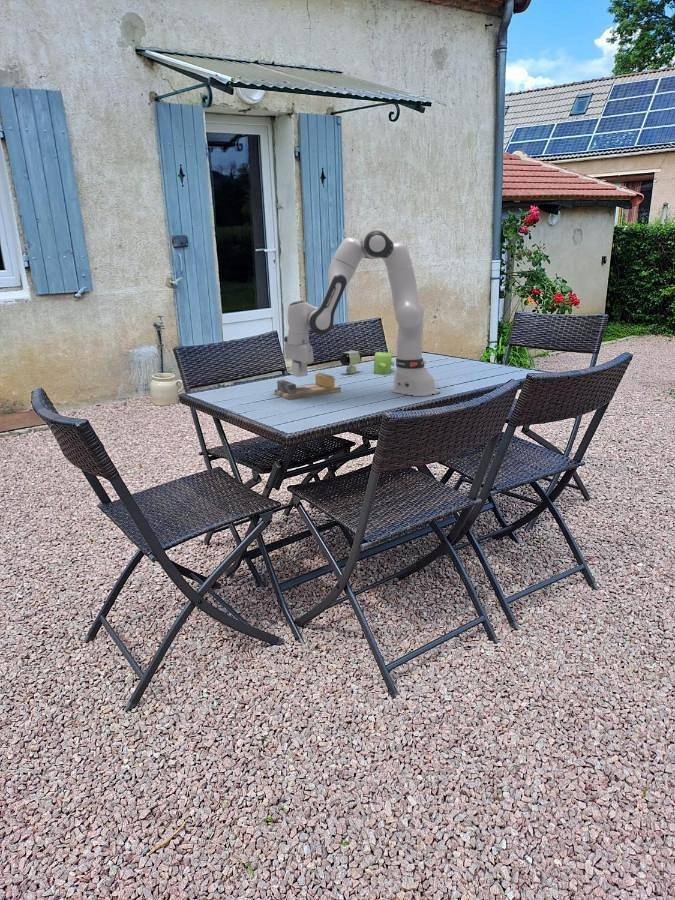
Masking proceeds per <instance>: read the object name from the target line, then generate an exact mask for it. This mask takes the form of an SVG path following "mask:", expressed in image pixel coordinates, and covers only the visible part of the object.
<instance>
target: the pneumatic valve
mask: <svg viewBox="0 0 675 900" xmlns="http://www.w3.org/2000/svg"><path fill="white" fill-rule="evenodd" d="M362 358H363V357H362V353H361V351H360V350H353V349H349V351H344V352H343V351H342V352H341V355H340V356H339V361H340V363H341V366H346V367H345V368H346V369H345V372H346V374H349V375H351V374H352V373H353V374H356V373H357V372H356V371H357V366H355V365H359V364H361V362H362ZM353 374H352V375H353Z"/></svg>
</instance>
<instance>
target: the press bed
mask: <svg viewBox="0 0 675 900" xmlns="http://www.w3.org/2000/svg"><path fill="white" fill-rule="evenodd" d="M276 382H277V383H276V384H277V388H276V389H274V394H275V395H276V394H277V395H276V396H279V397H281V396H282V398H283V399H287V400H289V401H290V400H296V398H297V399H303V398H308V397H309V396H310V397H315V396H316V397H317V396H321V395H328V394H334V393H341V392H342V389H341V386H338V385H335V384H334V387H324V386H321V385H318V384H316V383H310V384H303V385H298V386H297V384H296V383H292V382H290V381H287V380H285V379H282V380H277V381H276ZM302 397H303V398H302Z"/></svg>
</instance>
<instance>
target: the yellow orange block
mask: <svg viewBox="0 0 675 900" xmlns="http://www.w3.org/2000/svg"><path fill="white" fill-rule="evenodd" d="M315 384H318V385H321V386H324V387H334V385H335V375H330V374H327V373H324V372H317V373H316V374H315Z"/></svg>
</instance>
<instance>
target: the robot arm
mask: <svg viewBox="0 0 675 900" xmlns="http://www.w3.org/2000/svg"><path fill="white" fill-rule="evenodd" d="M337 247H338V248H337V249H336V251H335V253H334V254H333V256H332V258H331V262H330V264H329V267H328V271H327V277H328V287H327V290H326V292H325V296H324V298H323V300H322V301H321V305H320V306H319V307H317V306H314V305H312V304H310V303H308V302H307V301H306V300H297V301H293V302H291V303H290V304H289V305H288V307H287V308H288V309H287V324H288V330H287V331H288V332H287V335H286V336H283V342H284V356H285V357H286V358H287V359H289V360H291V363H292V362H294V361H300V362H301V364H302V367H301V372H306V366H307V367H308V364H312V363H314V360H315V359H314V350H313V346H312V344H311V343H310V338H309V337H310V335H309V334H310V333H309V331H310V330H311V331H312V332H313V333H314V334H316V335H319V336H324V335H327V334H329V333H330V332H331V331H332V329H333V327H334V321H335V319H334V318H335V312H336V310H337V307H338V306H339V302H340V301H341V298H342V295H343V294H344V291H345V289H346V288H347V286H348V284H349V283H350V281H351V280H352V278H353V276H354V274H355V273H356V270H357V269H358V266H359V264H360V262H361V261H362V260H363V259H364V258H366V259H370V260H371V259H372V260H374V259H377V260H378V259H380V258H381V259H382V260H383V262H384V264H385V267H386V271H387V277H388V282H389V286H390V290H391V298H392V305H393V309H394V310H393V311H394V315H395V320H396V323H397V324H398V326H397V339H396V358H395V366H396V370H395V372H394V378H393V387H392V388H391V393H396V394H402V395H406V394H407V396H411V395H413V396H412V397H426V396H432V394H434V395H437V393H438V394H440V393H441V390H440V389H438V388H436V387H435V385H436V384H435V378H434V377H433V376H432V375H431V374H430V372H429V371H428V370H427V369H426V367H425V364H426V360H424V358H423V337H424V336H423V335H424V334H423V332H424V307H423V305H422V304H421V303H420V300H419V294H418V286H417V281H416V275H415V270H414V267H413V262H412V259H411V258H412V257H411V256H410V253H409V250H408V248H407V246H406V245H405V243H402V242H393V241H392V239H390V238H389V236H388V235H387V234H386V233H385V232H383V231H381V230H377V229H376V230H372V231H369V232H367V234H365V235H364V236H363V237H362V238H361V239H356V238H354V237H346V238H344V239H343V240H342V242H341V243H340V244H339V246H337ZM439 392H440V393H439Z"/></svg>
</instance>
